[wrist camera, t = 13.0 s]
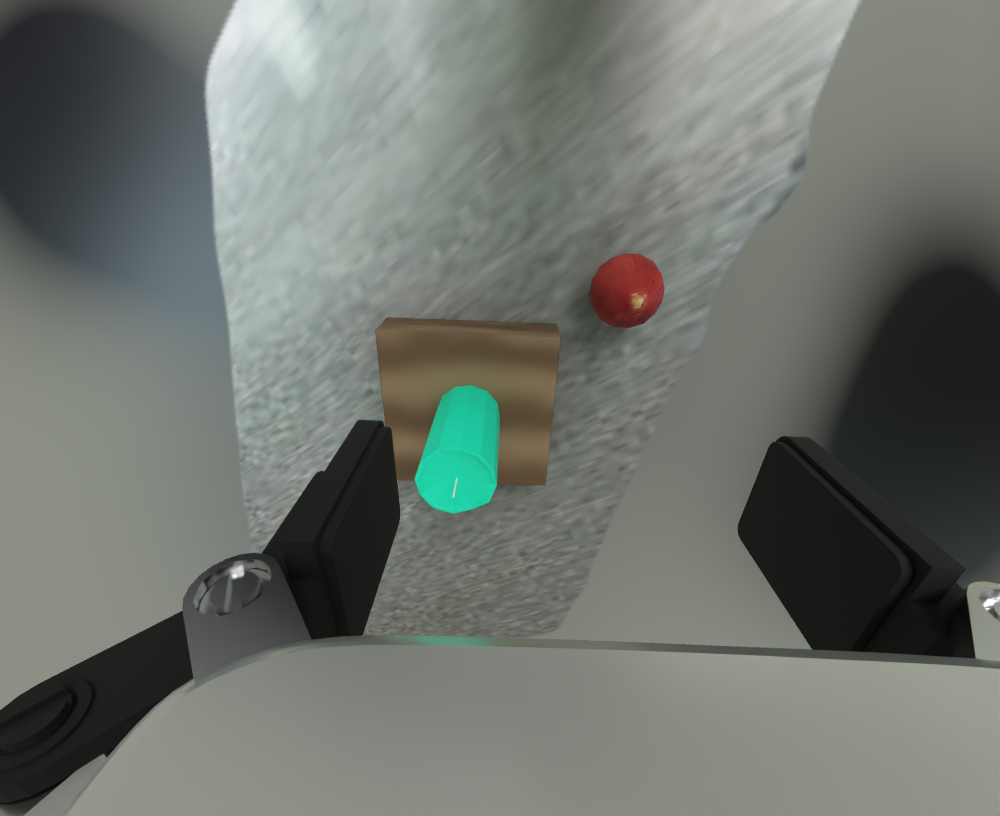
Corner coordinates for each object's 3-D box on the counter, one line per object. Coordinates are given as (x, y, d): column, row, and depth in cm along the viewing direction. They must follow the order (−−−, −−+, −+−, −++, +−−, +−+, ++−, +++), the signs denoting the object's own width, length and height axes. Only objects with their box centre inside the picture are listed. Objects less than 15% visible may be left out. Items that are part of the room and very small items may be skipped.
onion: (653, 303, 39) (685, 329, 31) (591, 322, 40) (609, 352, 32) (642, 238, 36) (674, 251, 29) (576, 261, 37) (592, 279, 30)
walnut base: (387, 317, 40) (375, 330, 36) (556, 323, 40) (560, 337, 36) (400, 457, 47) (391, 479, 44) (542, 462, 47) (545, 485, 44)
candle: (434, 436, 41) (408, 523, 30) (439, 380, 38) (412, 455, 28) (495, 444, 41) (490, 533, 31) (504, 389, 39) (502, 467, 28)
